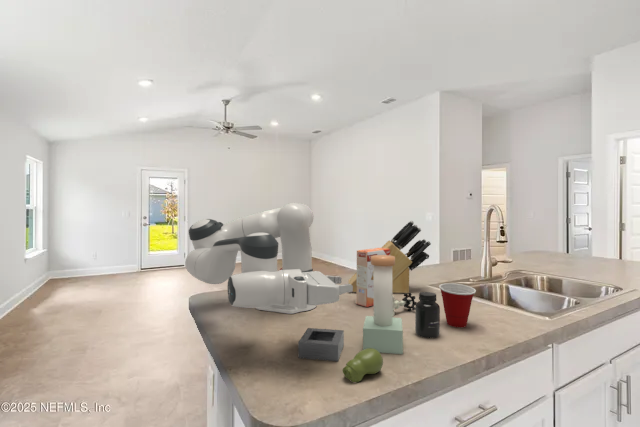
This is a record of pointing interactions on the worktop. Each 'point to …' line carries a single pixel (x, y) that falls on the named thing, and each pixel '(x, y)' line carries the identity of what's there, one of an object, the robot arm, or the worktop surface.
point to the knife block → (402, 258)
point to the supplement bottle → (427, 316)
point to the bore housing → (321, 344)
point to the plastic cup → (456, 303)
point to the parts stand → (383, 336)
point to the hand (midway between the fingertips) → (346, 283)
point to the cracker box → (367, 275)
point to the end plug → (382, 288)
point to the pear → (363, 364)
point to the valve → (403, 303)
